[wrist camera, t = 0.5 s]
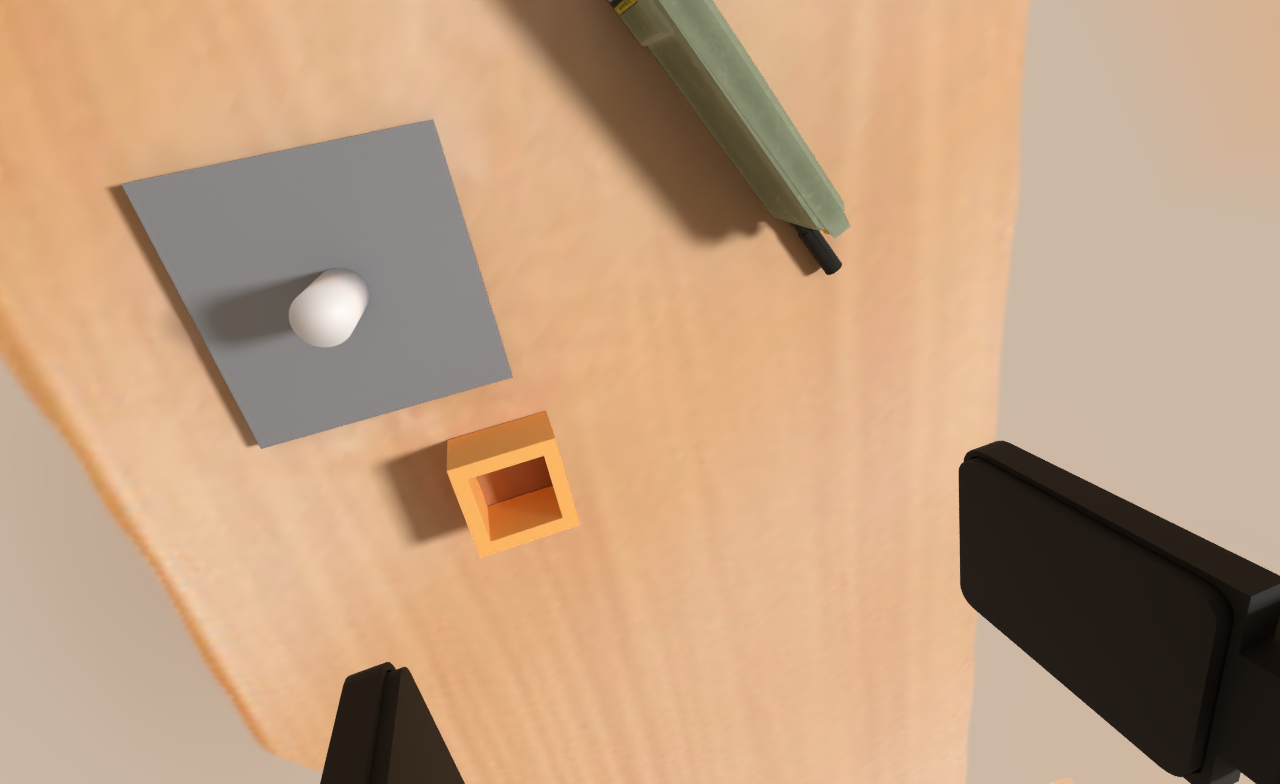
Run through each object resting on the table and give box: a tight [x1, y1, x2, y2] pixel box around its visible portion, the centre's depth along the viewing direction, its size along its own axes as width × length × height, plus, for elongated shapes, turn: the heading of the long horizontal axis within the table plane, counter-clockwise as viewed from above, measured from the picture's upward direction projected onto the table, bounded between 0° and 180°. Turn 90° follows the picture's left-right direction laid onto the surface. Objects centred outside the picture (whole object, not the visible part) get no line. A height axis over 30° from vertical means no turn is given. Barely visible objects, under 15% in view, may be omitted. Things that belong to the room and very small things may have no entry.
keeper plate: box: [121, 120, 512, 449], centre depth 34 cm, size 16×16×7 cm
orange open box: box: [447, 411, 580, 558], centre depth 42 cm, size 7×7×4 cm
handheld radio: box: [608, 0, 850, 275], centre depth 37 cm, size 7×3×25 cm
